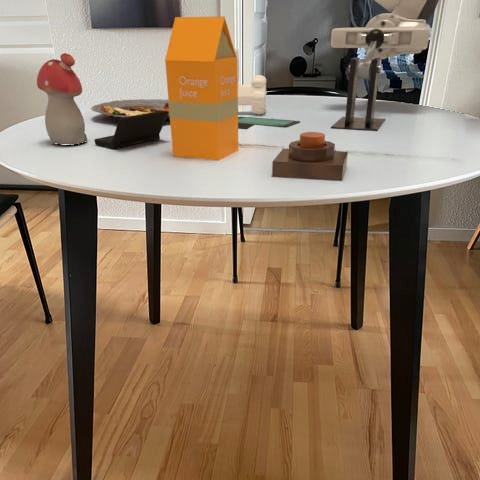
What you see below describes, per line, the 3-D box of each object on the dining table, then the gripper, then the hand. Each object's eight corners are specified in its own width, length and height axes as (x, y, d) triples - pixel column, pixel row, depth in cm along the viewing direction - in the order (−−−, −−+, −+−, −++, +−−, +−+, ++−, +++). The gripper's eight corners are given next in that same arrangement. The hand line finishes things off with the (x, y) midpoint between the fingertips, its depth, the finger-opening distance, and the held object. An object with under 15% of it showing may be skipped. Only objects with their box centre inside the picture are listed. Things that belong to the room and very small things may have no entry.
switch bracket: (342, 122, 107) (347, 56, 101) (384, 125, 104) (393, 56, 98) (330, 133, 98) (335, 60, 91) (376, 136, 95) (386, 61, 88)
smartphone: (239, 115, 110) (301, 120, 104) (239, 121, 111) (301, 126, 104) (221, 120, 105) (285, 126, 98) (222, 127, 105) (285, 132, 99)
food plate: (220, 115, 117) (219, 99, 116) (143, 131, 103) (141, 112, 101) (151, 105, 132) (150, 91, 130) (75, 118, 117) (72, 101, 115)
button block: (346, 167, 76) (349, 139, 74) (341, 181, 70) (344, 152, 68) (282, 163, 79) (283, 137, 77) (272, 177, 72) (272, 148, 70)
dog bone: (266, 110, 123) (267, 73, 118) (265, 116, 115) (265, 77, 111) (206, 110, 124) (204, 74, 119) (201, 116, 116) (199, 78, 112)
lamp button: (325, 144, 74) (326, 132, 73) (322, 150, 71) (323, 137, 70) (301, 143, 74) (302, 131, 73) (297, 149, 71) (298, 136, 70)
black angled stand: (130, 125, 99) (145, 84, 91) (156, 150, 99) (174, 111, 91) (88, 144, 92) (101, 102, 84) (117, 172, 92) (132, 132, 84)
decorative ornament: (97, 144, 93) (82, 52, 85) (63, 149, 89) (45, 55, 81) (74, 136, 99) (59, 50, 91) (42, 141, 95) (23, 52, 87)
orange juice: (195, 146, 90) (187, 17, 79) (239, 150, 87) (237, 16, 76) (172, 156, 84) (160, 17, 73) (218, 161, 81) (213, 16, 70)
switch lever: (367, 43, 104) (368, 25, 101) (385, 43, 103) (386, 25, 100) (353, 81, 97) (354, 63, 94) (372, 82, 96) (373, 64, 93)
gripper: (338, 20, 113) (325, 21, 102) (433, 19, 106) (430, 20, 95) (336, 52, 116) (322, 56, 105) (428, 52, 110) (424, 57, 99)
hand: (374, 39), depth 100 cm, fingers closed on switch lever, 3 cm apart
